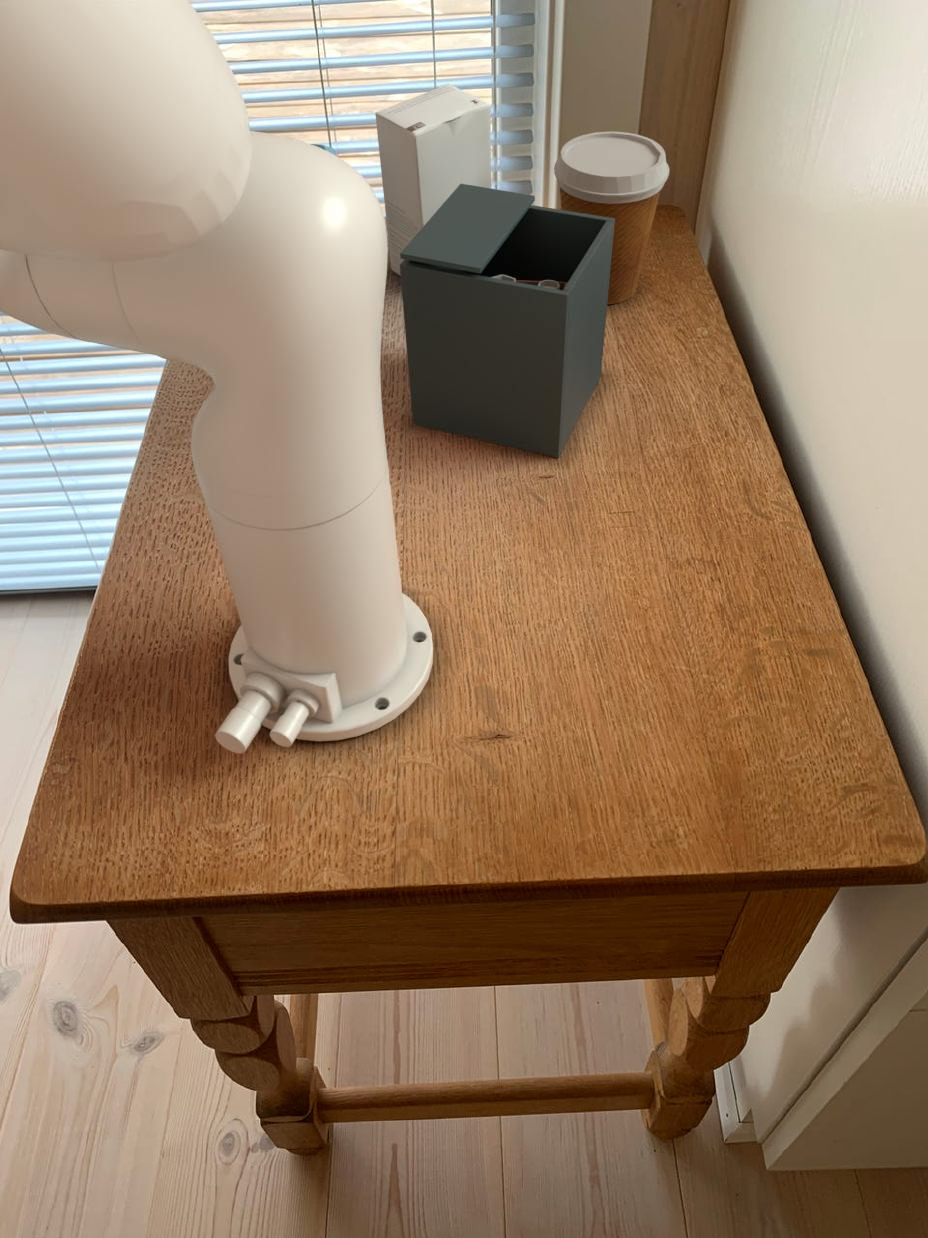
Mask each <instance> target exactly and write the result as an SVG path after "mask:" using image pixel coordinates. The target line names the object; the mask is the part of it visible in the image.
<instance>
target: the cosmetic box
mask: <svg viewBox="0 0 928 1238" xmlns="http://www.w3.org/2000/svg"><path fill="white" fill-rule="evenodd" d="M491 110H492V105H491V104H490V103H489V102H487V101H484V100H482V99H480V98H478V97H477V96H474V95H473V94H470V93H469V92H466V91H464V90H462V89H460V88H459V87H456V86H455V85H453V84H450V83H446V84H444V85H441V86H438V87H436V88H434V89H432V90H429V91H427V92H424V93H422V94H419V95H417V96H415V97H411V98H410V99H406V100H404V101H402V102H400V103H397V104H394V105H392V106H389V107H386V108H384V109H381V110H379V111H376V112H375V113H374V114H375V123H376V132H377V143H378V153H379V163H380V171H381V173H380V174H381V179H382V180H381V181H382V191H383V201H384V212H385V223H386V231H387V242H388V247H389V248H388V251H389V258H390V259H389V261H390V267H391V270H392V272H393V273H396V275H398V276H400V277H401V274H400V264H401V263H402V262H403V260H404V259H401V258H400V253H401V252H402V251H403V249H404V248H405V247H406V246H407V245H408V244H409V243H410V241H411V240H412V239H413V238H414V237H415V236H416V234H417V233H418V232H419V231H420V230H421V229H422V228H423V226H424V225H425V224H426V223H427V222H428V221H429V219H430V218H431V217H432V216H433V215H434V214H435V213H436V211H437V210H438V209H439V208H440V207H441V206H442V204H443V203H444V202H445V201H446V200H447V199H448V198H449V196H450V195H451V194H452V193H453V192H454V191H455V189H456V188H457V187H458V186H459V185H460V184H466V185H472V186H478V187H484V188H490V189H493V188H492V183H493V182H492V126H491V124H492V123H491V121H492V119H491V118H492V116H491V115H492V114H491Z"/></svg>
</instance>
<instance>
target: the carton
mask: <svg viewBox="0 0 928 1238" xmlns="http://www.w3.org/2000/svg"><path fill="white" fill-rule="evenodd" d="M614 224H615V218H609V217H603V216H597V215H590V214H584V213H578V212H571V211H565V210H561V209H559V208H551V207H547V206H539V205H533V204H532V205H531V206H530V208H529V209H528V210H527V212H526V213H525V214H524V216H523V217H522V218H521V220H520V221H519V222H518V224H517V225H516V226H515V228H514V229H513V230H512V232H511V233H510V235H509V236H508V237H507V239H506V240H505V241H504V243H503V244H502V245H501V247H500V248H499V249H498V251H497V252H496V253H495V255H494V256H493V257H492V259H491V260H490V261H489V263H488V264H487V265H486V267H485V268H484V269H483V271H482V272H481V273H480V274H479V273H474V272H469V271H464V270H458V269H453V268H448V267H443V266H437V265H432V264H427V263H421V262H416V261H411V260H406V259H404V260H403V262H402V263H401V264H400V274H401V276H400V285H401V297H402V298H401V299H402V309H403V321H404V322H403V323H404V334H405V345H406V358H407V369H408V381H409V393H410V394H409V395H410V405H411V417H412V418H411V419H412V425H413V426H416V427H417V426H418V427H421V428H426V429H430V430H435V431H438V432H439V431H440V432H444V433H447V434H453V435H457V436H461V437H466V438H470V439H474V440H478V441H483V442H488V443H491V444H496V445H500V446H504V447H509V448H514V449H518V450H522V451H526V452H530V453H535V454H539V455H544V456H547V457H548V456H549V457H553V458H556V459H559V458H560V456H561V454H562V452H563V451H564V449H565V446H566V445H567V443H568V440H569V439H570V437H571V435H572V433H573V431H574V429H575V427H576V425H577V424H578V421H579V419H580V418H581V416H582V414H583V412H584V411H585V408H586V406H587V404H588V403H589V401H590V399H591V396H592V395H593V393H594V391H595V389H596V387H597V385H598V383H599V381H600V380H601V377H602V367H603V357H604V344H605V334H606V322H607V311H608V304H607V302H608V291H609V279H610V268H611V257H612V246H613V235H614ZM502 274H504V275H507V276H510V277H513V278H516V280H523V281H544V280H554V281H556V282H567V285H566V286H565V288H564V289H563V291H562V290H557V289H551V288H546V287H540V286H535V285H529V284H524V283H518V282H513V281H508V280H502V279H497V278H491V277H494V276H498V275H502Z"/></svg>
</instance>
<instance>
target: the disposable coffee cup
mask: <svg viewBox="0 0 928 1238" xmlns="http://www.w3.org/2000/svg"><path fill="white" fill-rule="evenodd" d="M666 156H667V155H666V151H665V149H664V148H663V146H662V145H661V144H660V143H658V142H657V141H655V140H654V139H651V138H649V137H647V136H643V135H640V134H638V133H631V132H625V131H597V132H591V133H586V134H583V135H579V136H576V137H574V138H572V139H570V140H569V141H567V142H566V143H565V144H564V145H563V146H562V147H561V150H560V153H559V157H558V159H557V160H556V161H555V163H554V167H553V173H554V176H555V178H556V180H557V184H558V186H559V197H560V207H561V208H560V210H565V211H571V212H578V213H584V214H590V215H597V216H603V217H609V218H615V224H614V235H613V246H612V257H611V268H610V279H609V291H608V302H607V305H613V304H619V303H622V302H624V301H627V300H629V299H631V297H633V295H634V294H635V293H636V291H637V286H638V283H639V278H640V276H641V275H640V274H641V271H642V267H643V263H644V259H645V255H646V252H647V246H648V243H649V240H650V239H649V238H650V234H651V230H652V227H653V223H654V218H655V215H656V211H657V206H658V202H659V199H660V195H661V191H662V189H663V187H664V186H665V183H666V182H667V181H668V178H669V176H670V166H669V164H668V163H667V157H666Z"/></svg>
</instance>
